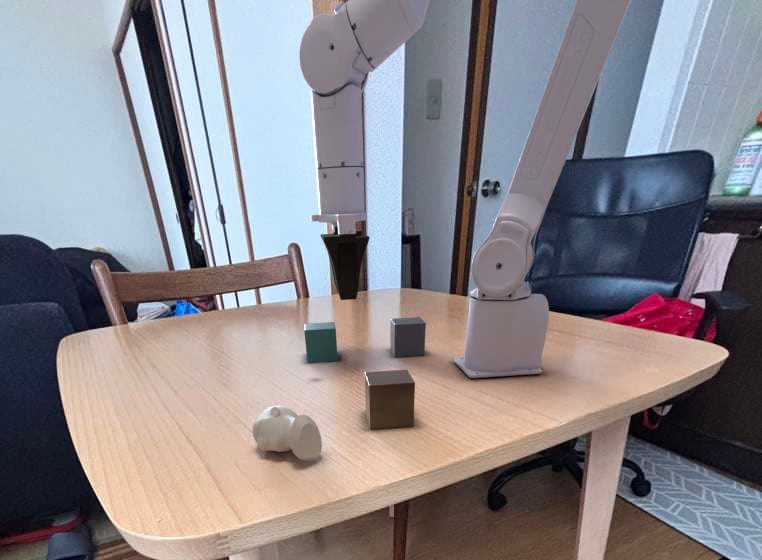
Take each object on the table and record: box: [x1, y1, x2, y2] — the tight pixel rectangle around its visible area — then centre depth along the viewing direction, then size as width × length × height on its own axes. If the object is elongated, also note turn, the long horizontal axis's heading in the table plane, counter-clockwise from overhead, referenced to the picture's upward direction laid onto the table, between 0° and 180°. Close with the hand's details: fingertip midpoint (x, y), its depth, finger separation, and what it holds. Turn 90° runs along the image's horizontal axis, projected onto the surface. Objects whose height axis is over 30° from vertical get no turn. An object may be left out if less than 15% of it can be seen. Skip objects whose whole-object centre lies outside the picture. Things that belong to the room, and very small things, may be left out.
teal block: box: [303, 321, 339, 364], centre depth 69 cm, size 4×4×4 cm
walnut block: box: [364, 369, 416, 430], centre depth 48 cm, size 4×4×4 cm
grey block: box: [389, 316, 427, 358], centre depth 70 cm, size 4×4×4 cm
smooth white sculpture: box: [252, 405, 323, 461], centre depth 43 cm, size 4×8×5 cm
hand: (346, 294), depth 64 cm, fingers open, 7 cm apart
